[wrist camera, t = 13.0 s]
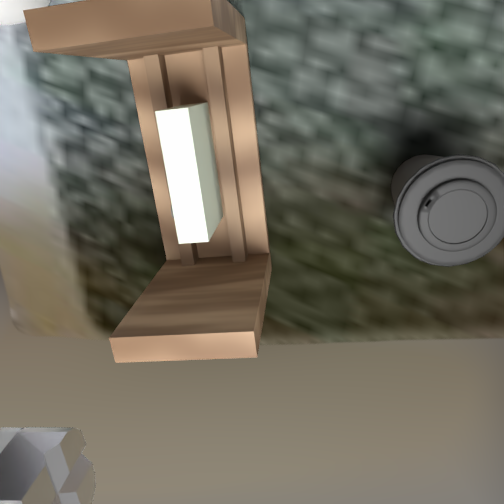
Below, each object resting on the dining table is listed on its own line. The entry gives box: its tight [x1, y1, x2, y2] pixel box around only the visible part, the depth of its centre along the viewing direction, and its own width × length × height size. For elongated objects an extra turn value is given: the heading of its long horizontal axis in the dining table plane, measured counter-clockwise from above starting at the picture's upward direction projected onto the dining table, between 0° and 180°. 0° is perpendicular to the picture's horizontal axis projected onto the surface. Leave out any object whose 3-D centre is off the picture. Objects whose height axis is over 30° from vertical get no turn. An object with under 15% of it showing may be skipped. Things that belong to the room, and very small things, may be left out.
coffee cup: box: [391, 154, 504, 267], centre depth 35 cm, size 8×8×10 cm
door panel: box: [155, 102, 223, 244], centre depth 37 cm, size 10×3×7 cm, turn 6°
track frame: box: [23, 0, 272, 363], centre depth 34 cm, size 22×10×15 cm, turn 7°
